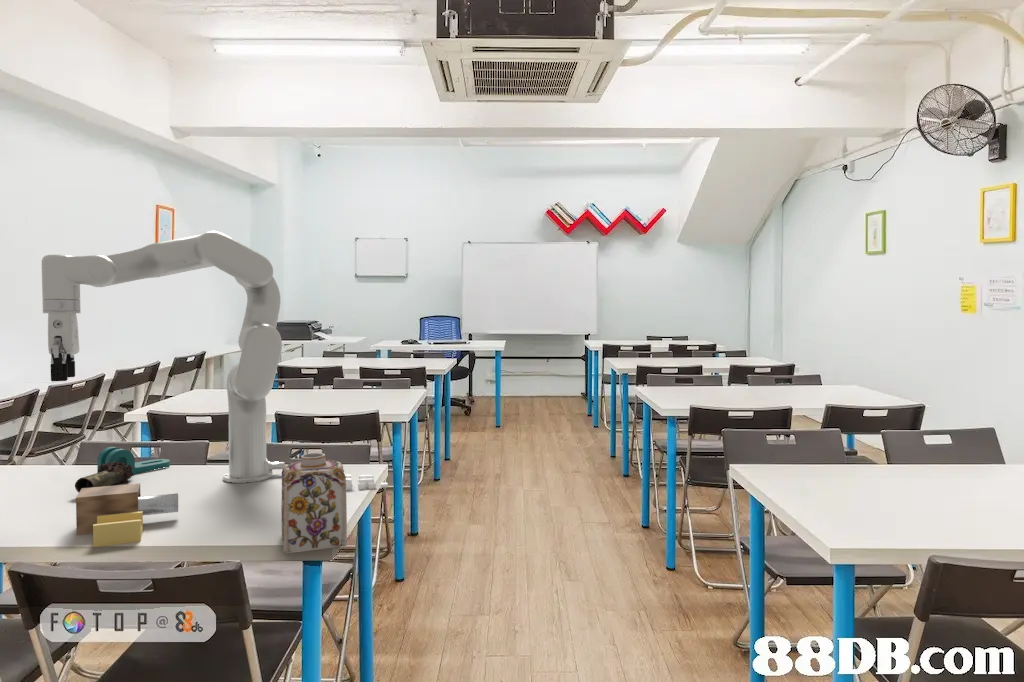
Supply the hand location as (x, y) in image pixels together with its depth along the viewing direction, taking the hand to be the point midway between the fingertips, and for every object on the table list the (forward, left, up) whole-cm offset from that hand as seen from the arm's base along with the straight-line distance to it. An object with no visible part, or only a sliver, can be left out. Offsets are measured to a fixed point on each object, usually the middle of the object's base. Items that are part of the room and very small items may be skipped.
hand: (63, 379), depth 164 cm
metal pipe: (-5, -4, -32) cm, 33 cm away
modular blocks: (-68, +18, -30) cm, 76 cm away
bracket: (-13, -27, -30) cm, 42 cm away
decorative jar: (-49, +55, -30) cm, 80 cm away
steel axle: (-16, +28, -25) cm, 41 cm away
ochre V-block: (-14, +37, -29) cm, 50 cm away
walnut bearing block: (-12, +27, -29) cm, 42 cm away
